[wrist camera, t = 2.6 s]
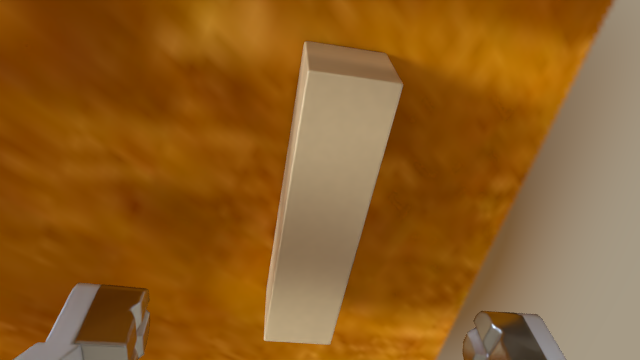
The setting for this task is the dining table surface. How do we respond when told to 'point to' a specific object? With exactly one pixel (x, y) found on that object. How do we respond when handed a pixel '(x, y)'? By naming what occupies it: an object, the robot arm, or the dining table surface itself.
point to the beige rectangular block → (327, 186)
